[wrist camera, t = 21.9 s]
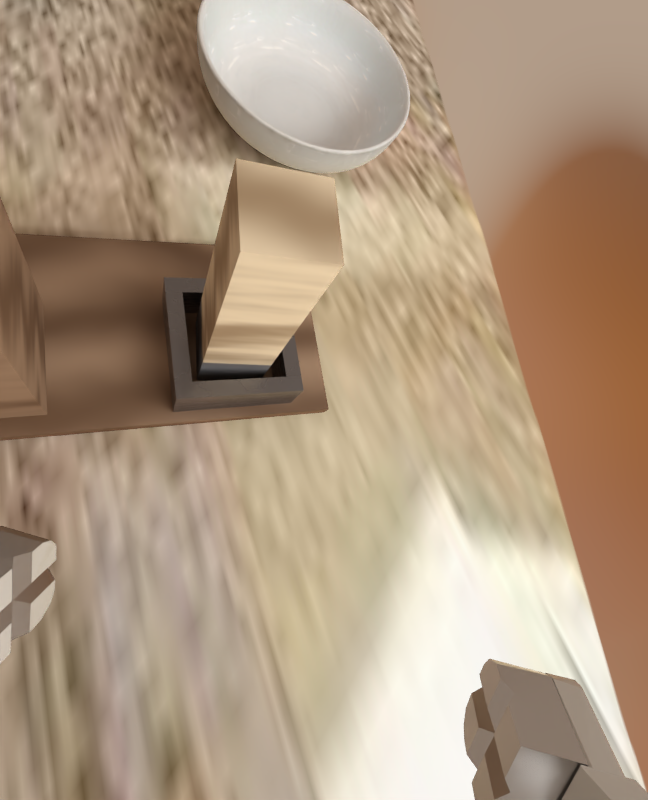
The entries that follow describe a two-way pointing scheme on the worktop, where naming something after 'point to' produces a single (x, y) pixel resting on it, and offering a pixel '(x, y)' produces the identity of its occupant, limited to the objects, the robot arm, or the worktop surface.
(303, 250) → the rail bar
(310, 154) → the serving bowl
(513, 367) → the worktop surface
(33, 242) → the l-shaped wooden bracket
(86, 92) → the worktop surface
